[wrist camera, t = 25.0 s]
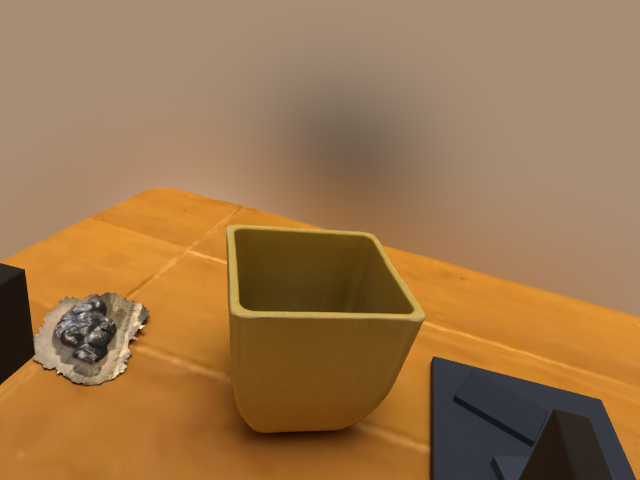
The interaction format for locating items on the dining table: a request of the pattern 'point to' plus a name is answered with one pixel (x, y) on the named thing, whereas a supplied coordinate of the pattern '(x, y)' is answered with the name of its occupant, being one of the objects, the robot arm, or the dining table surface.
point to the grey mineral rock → (89, 337)
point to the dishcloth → (502, 423)
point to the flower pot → (314, 326)
